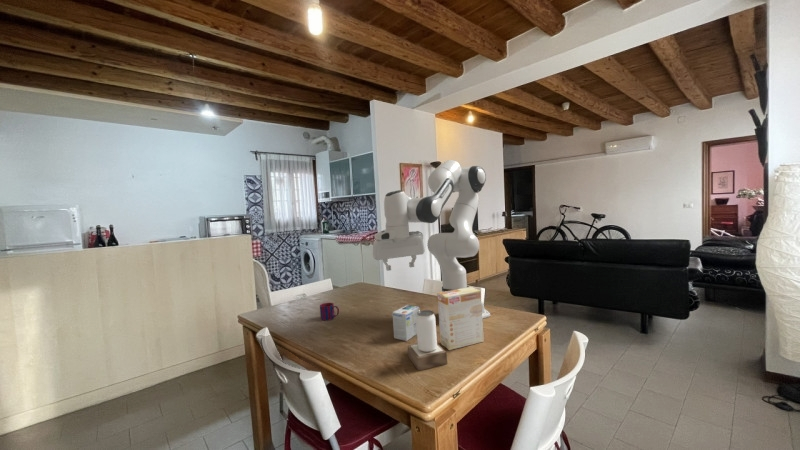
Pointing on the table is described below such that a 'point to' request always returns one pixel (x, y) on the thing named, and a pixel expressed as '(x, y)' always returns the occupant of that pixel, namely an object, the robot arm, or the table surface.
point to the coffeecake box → (460, 317)
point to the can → (426, 331)
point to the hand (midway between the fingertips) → (400, 268)
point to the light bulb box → (405, 322)
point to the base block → (427, 357)
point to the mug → (327, 311)
